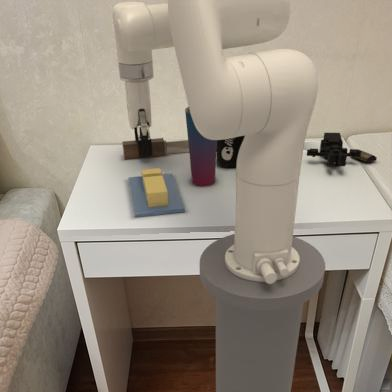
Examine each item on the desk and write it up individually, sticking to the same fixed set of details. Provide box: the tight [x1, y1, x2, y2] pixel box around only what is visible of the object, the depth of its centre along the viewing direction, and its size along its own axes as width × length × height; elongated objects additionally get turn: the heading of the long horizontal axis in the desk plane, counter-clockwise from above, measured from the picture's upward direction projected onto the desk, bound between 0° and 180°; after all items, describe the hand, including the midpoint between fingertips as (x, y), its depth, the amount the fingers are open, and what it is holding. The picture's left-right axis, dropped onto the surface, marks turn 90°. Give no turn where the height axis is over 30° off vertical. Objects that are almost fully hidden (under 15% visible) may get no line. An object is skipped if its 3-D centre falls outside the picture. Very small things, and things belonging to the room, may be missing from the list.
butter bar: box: [143, 175, 168, 207], centre depth 101 cm, size 8×4×3 cm, turn 10°
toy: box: [306, 132, 362, 167], centre depth 114 cm, size 12×5×15 cm
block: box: [354, 148, 378, 162], centre depth 116 cm, size 4×6×2 cm, turn 30°
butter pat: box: [141, 167, 163, 185], centre depth 106 cm, size 2×4×3 cm, turn 100°
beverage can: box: [216, 136, 244, 169], centre depth 113 cm, size 7×7×12 cm
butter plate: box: [127, 172, 186, 218], centre depth 105 cm, size 18×10×1 cm, turn 10°
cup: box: [184, 106, 217, 187], centre depth 105 cm, size 7×7×15 cm
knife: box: [122, 137, 189, 160], centre depth 121 cm, size 2×19×4 cm, turn 100°
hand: (143, 149), depth 121 cm, fingers open, 9 cm apart
